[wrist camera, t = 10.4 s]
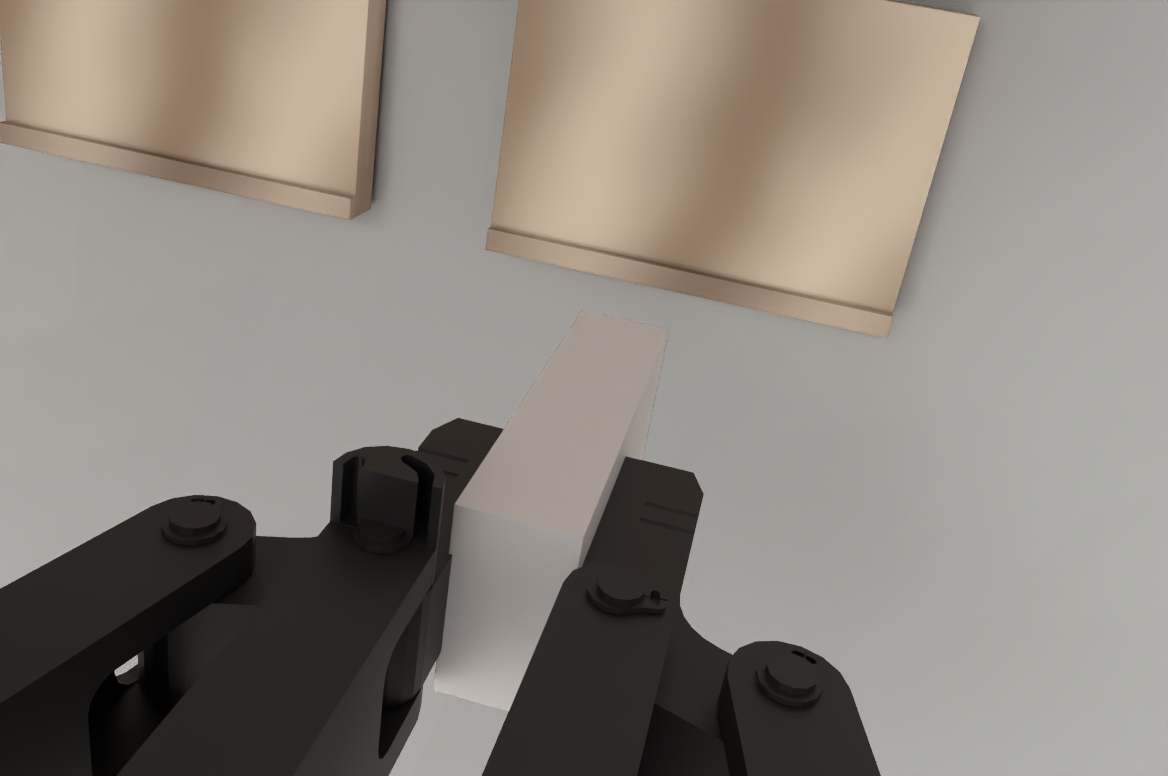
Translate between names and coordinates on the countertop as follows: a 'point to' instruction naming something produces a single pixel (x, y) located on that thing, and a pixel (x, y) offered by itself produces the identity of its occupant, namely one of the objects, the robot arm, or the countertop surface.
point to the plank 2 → (730, 146)
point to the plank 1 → (203, 92)
